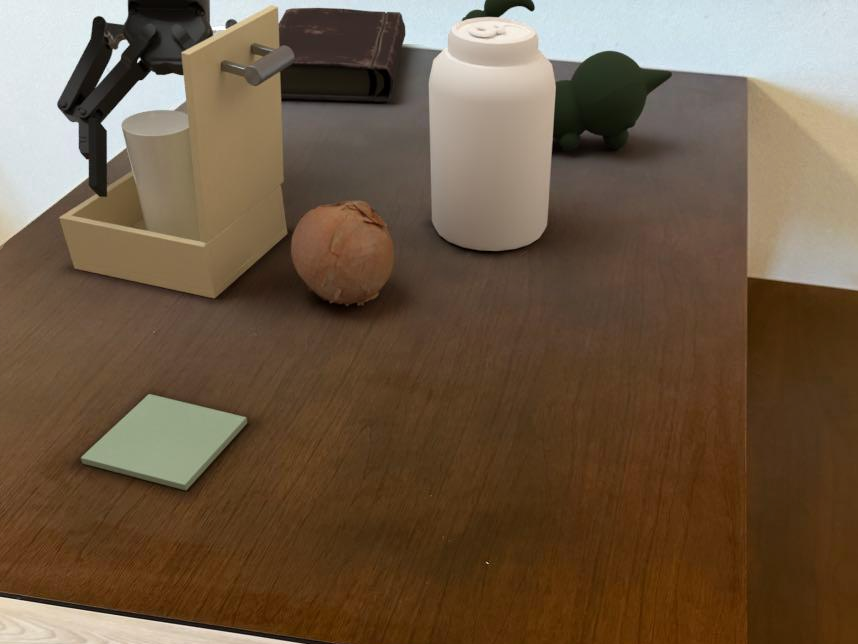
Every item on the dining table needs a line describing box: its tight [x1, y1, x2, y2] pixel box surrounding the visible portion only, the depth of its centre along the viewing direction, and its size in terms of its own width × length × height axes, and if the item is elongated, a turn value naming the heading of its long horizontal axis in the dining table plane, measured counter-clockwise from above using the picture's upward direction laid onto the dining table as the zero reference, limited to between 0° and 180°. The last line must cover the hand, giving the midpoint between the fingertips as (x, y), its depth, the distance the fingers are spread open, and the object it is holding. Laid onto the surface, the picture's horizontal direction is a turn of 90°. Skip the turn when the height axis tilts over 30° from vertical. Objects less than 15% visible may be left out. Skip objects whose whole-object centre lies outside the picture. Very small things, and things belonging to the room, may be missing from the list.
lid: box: [181, 4, 294, 243], centre depth 87 cm, size 16×15×4 cm
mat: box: [80, 393, 248, 491], centre depth 75 cm, size 9×9×1 cm
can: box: [428, 16, 556, 252], centre depth 98 cm, size 12×12×20 cm
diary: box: [279, 7, 406, 103], centre depth 137 cm, size 19×25×5 cm
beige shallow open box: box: [58, 170, 288, 299], centre depth 96 cm, size 16×15×5 cm
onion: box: [290, 199, 395, 307], centre depth 90 cm, size 10×9×10 cm
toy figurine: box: [461, 0, 673, 152], centre depth 116 cm, size 9×19×25 cm
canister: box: [120, 109, 201, 242], centre depth 94 cm, size 6×6×12 cm
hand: (170, 192), depth 93 cm, fingers open, 13 cm apart
